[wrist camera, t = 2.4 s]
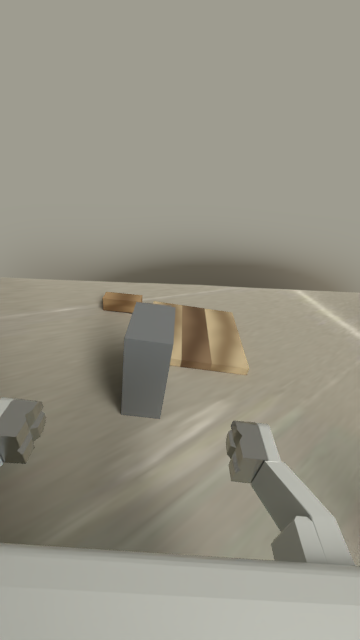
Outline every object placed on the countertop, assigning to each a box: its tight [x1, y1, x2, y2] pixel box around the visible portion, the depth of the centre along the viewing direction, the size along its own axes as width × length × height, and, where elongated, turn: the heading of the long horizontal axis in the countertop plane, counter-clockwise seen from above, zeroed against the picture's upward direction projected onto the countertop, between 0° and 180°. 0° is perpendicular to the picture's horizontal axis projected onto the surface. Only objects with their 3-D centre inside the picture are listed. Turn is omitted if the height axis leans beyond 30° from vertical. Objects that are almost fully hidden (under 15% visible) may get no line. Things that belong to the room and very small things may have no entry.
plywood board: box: [153, 301, 249, 375], centre depth 38 cm, size 14×14×1 cm
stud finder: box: [121, 302, 176, 419], centre depth 26 cm, size 4×6×10 cm
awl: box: [103, 292, 171, 313], centre depth 41 cm, size 11×2×2 cm, turn 89°
